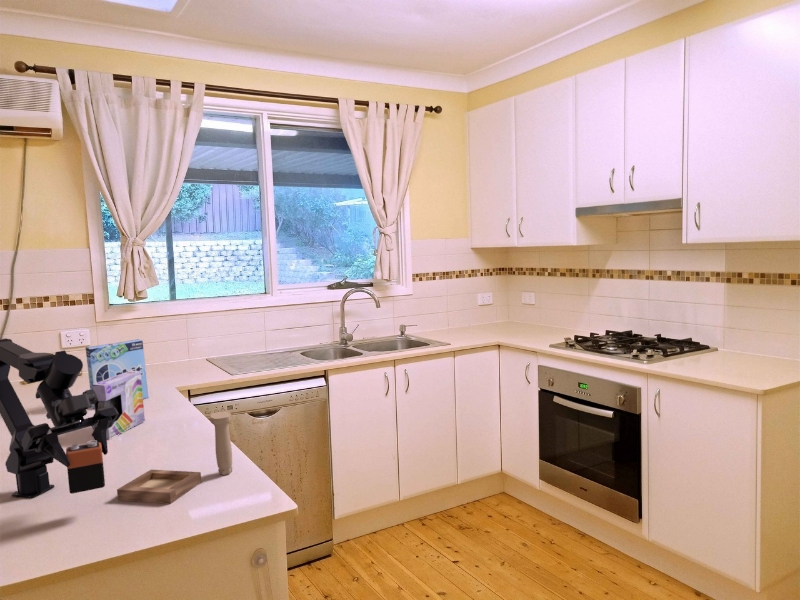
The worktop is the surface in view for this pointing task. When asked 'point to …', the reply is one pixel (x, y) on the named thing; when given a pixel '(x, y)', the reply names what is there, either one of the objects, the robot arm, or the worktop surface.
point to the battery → (85, 467)
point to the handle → (222, 441)
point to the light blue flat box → (116, 362)
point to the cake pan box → (122, 400)
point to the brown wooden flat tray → (159, 486)
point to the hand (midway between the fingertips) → (88, 459)
